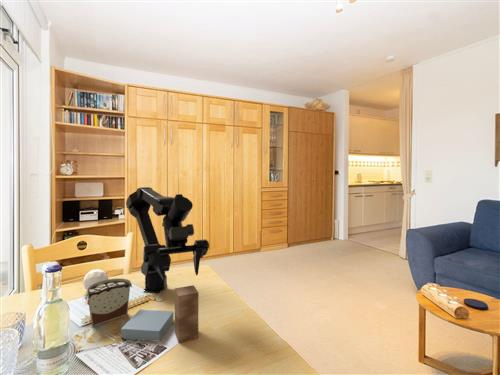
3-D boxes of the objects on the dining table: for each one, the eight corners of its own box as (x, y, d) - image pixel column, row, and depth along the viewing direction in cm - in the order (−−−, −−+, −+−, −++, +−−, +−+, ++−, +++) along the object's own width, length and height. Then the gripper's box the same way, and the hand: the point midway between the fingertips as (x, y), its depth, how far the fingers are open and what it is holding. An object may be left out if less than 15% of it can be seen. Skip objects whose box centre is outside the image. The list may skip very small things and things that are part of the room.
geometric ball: (92, 301, 97) (76, 288, 92) (93, 285, 103) (79, 272, 99) (112, 289, 98) (98, 275, 94) (112, 274, 105) (99, 260, 100)
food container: (124, 305, 88) (124, 274, 88) (132, 312, 84) (132, 280, 83) (80, 319, 80) (79, 285, 79) (86, 328, 75) (85, 292, 75)
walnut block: (178, 343, 69) (178, 296, 69) (174, 332, 74) (174, 288, 73) (198, 338, 71) (198, 292, 71) (193, 328, 76) (193, 285, 75)
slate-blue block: (121, 340, 71) (121, 328, 71) (139, 319, 81) (139, 309, 81) (159, 342, 70) (159, 331, 70) (173, 321, 80) (173, 311, 80)
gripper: (143, 217, 78) (147, 268, 69) (207, 213, 86) (219, 258, 77) (141, 238, 86) (145, 287, 76) (200, 233, 94) (210, 277, 84)
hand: (180, 277), depth 78 cm, fingers open, 9 cm apart
